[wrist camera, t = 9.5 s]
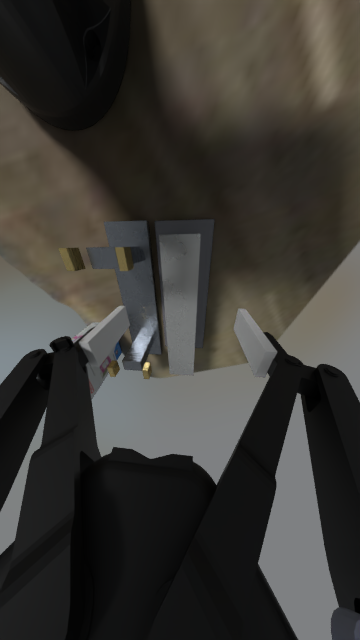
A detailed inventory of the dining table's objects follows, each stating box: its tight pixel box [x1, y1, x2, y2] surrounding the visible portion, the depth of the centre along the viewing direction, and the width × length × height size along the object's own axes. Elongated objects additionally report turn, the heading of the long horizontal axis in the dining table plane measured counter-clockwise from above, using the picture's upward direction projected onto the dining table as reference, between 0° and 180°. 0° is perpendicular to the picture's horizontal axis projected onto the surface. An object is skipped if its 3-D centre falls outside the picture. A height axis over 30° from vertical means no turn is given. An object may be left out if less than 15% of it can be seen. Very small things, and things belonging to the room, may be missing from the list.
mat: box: [155, 219, 214, 348], centre depth 23 cm, size 22×8×1 cm, turn 1°
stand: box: [58, 221, 162, 379], centre depth 21 cm, size 24×6×10 cm, turn 1°
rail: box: [159, 234, 201, 375], centre depth 21 cm, size 20×4×7 cm, turn 1°
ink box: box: [71, 323, 122, 400], centre depth 25 cm, size 8×5×12 cm, turn 1°
